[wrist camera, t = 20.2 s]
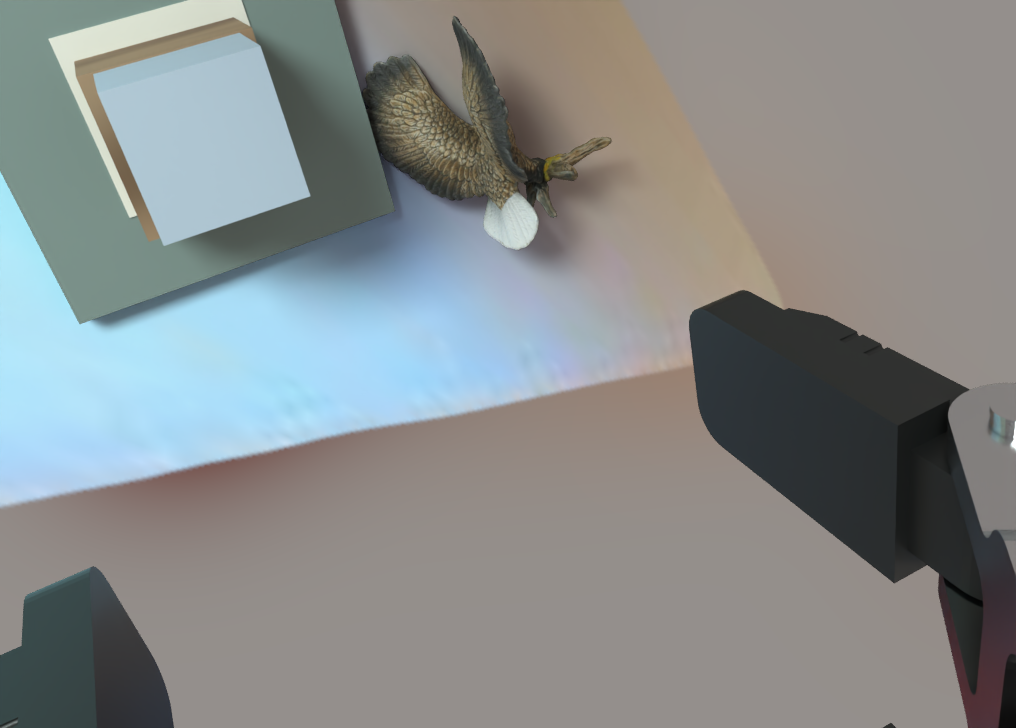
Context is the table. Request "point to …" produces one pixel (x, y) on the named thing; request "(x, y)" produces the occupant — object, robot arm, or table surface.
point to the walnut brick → (131, 55)
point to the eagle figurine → (464, 142)
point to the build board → (92, 173)
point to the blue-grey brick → (203, 135)
